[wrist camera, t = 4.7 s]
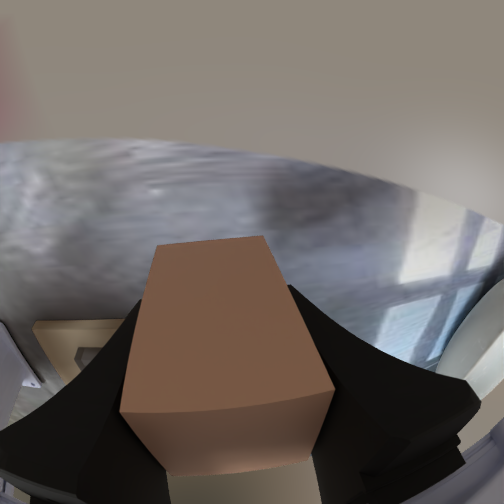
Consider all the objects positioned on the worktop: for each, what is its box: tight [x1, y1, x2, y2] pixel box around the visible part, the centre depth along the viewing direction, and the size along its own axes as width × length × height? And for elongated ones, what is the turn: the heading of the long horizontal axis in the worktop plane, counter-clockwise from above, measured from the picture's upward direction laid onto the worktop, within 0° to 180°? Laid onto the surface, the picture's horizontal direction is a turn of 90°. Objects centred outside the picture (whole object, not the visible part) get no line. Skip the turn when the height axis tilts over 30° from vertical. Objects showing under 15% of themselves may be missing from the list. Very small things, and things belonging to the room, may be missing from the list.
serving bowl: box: [435, 279, 504, 400], centre depth 23 cm, size 21×21×7 cm
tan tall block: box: [120, 236, 335, 476], centre depth 8 cm, size 4×4×7 cm
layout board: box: [32, 319, 125, 385], centre depth 20 cm, size 14×20×2 cm
